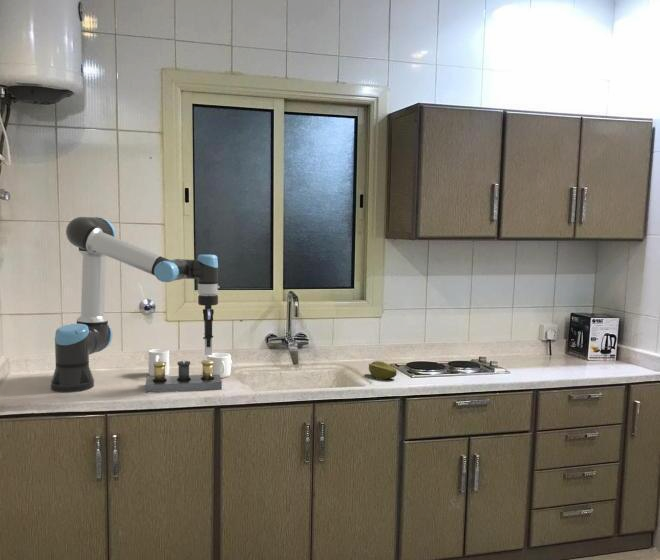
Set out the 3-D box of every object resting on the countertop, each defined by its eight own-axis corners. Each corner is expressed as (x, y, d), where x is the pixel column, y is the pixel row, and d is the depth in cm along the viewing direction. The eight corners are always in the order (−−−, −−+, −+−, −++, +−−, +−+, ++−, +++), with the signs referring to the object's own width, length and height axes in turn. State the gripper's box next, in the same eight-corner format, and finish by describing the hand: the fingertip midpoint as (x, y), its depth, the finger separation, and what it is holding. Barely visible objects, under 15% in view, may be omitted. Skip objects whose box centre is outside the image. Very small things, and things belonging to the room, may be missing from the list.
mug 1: (165, 379, 242) (165, 354, 241) (144, 379, 241) (144, 354, 241) (170, 372, 254) (170, 348, 253) (150, 372, 253) (150, 348, 252)
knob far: (201, 380, 230) (201, 362, 230) (201, 377, 235) (201, 360, 234) (214, 379, 231) (214, 362, 231) (213, 376, 236) (213, 359, 235)
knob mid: (177, 381, 228) (177, 362, 227) (177, 378, 233) (177, 360, 232) (190, 380, 229) (190, 362, 229) (190, 377, 234) (190, 359, 233)
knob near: (152, 382, 226) (152, 364, 225) (153, 379, 230) (153, 361, 230) (166, 381, 227) (166, 364, 226) (166, 378, 231) (166, 361, 231)
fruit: (369, 380, 248) (370, 365, 248) (368, 373, 260) (368, 358, 259) (397, 381, 248) (397, 365, 247) (394, 374, 260) (394, 359, 259)
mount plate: (145, 392, 222) (145, 384, 221) (146, 384, 233) (146, 377, 233) (221, 389, 229) (221, 381, 229) (219, 381, 240) (219, 374, 240)
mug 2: (236, 379, 245) (237, 357, 245) (212, 381, 241) (212, 359, 240) (227, 372, 256) (228, 351, 255) (204, 374, 251) (204, 353, 251)
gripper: (219, 296, 225) (219, 357, 227) (216, 292, 238) (216, 351, 240) (198, 296, 223) (199, 358, 225) (197, 293, 236) (197, 351, 238)
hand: (208, 354), depth 232 cm, fingers closed
